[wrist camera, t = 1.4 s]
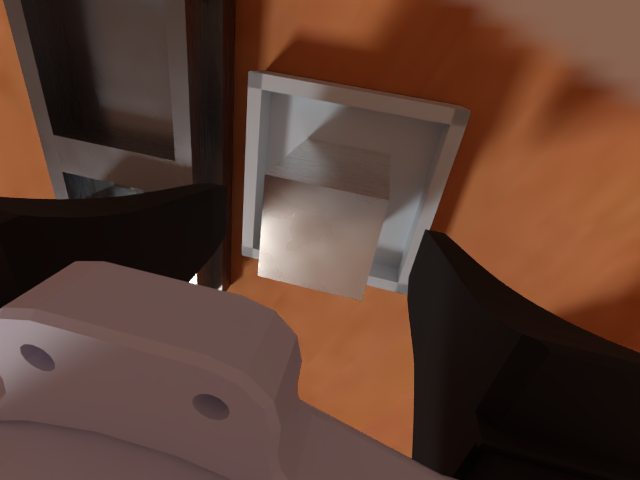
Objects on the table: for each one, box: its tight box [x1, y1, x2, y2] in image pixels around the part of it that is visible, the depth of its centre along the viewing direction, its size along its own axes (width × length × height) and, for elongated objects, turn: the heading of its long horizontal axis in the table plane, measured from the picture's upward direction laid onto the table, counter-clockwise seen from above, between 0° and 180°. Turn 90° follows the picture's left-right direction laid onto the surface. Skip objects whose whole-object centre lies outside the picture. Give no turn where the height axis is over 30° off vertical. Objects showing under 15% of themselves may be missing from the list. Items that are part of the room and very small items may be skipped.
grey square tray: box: [242, 70, 472, 295], centre depth 16 cm, size 9×9×2 cm
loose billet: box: [258, 138, 391, 301], centre depth 14 cm, size 4×4×6 cm
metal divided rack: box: [3, 0, 235, 292], centre depth 17 cm, size 9×16×3 cm, turn 171°
